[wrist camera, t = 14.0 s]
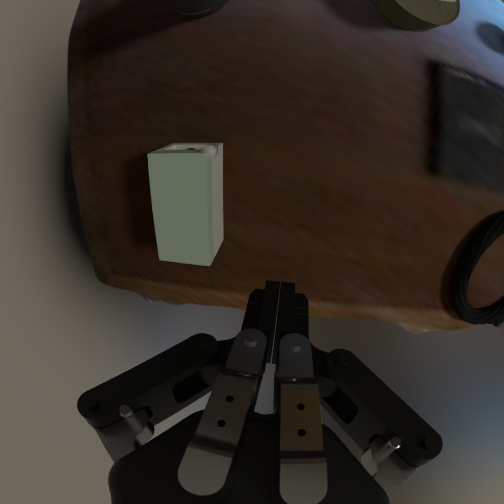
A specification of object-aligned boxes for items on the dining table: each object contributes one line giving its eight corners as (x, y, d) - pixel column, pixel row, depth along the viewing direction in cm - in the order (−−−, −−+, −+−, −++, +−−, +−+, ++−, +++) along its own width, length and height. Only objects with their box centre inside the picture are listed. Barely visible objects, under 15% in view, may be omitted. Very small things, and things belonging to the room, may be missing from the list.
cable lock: (546, 195, 28) (537, 302, 39) (535, 189, 31) (531, 293, 42) (449, 250, 38) (456, 350, 49) (440, 240, 41) (451, 339, 52)
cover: (155, 143, 34) (147, 147, 32) (218, 143, 33) (213, 146, 31) (165, 251, 43) (159, 259, 41) (220, 257, 42) (216, 266, 40)
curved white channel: (172, 143, 40) (157, 149, 35) (222, 143, 39) (212, 149, 34) (178, 235, 48) (166, 250, 43) (223, 239, 47) (215, 256, 42)
